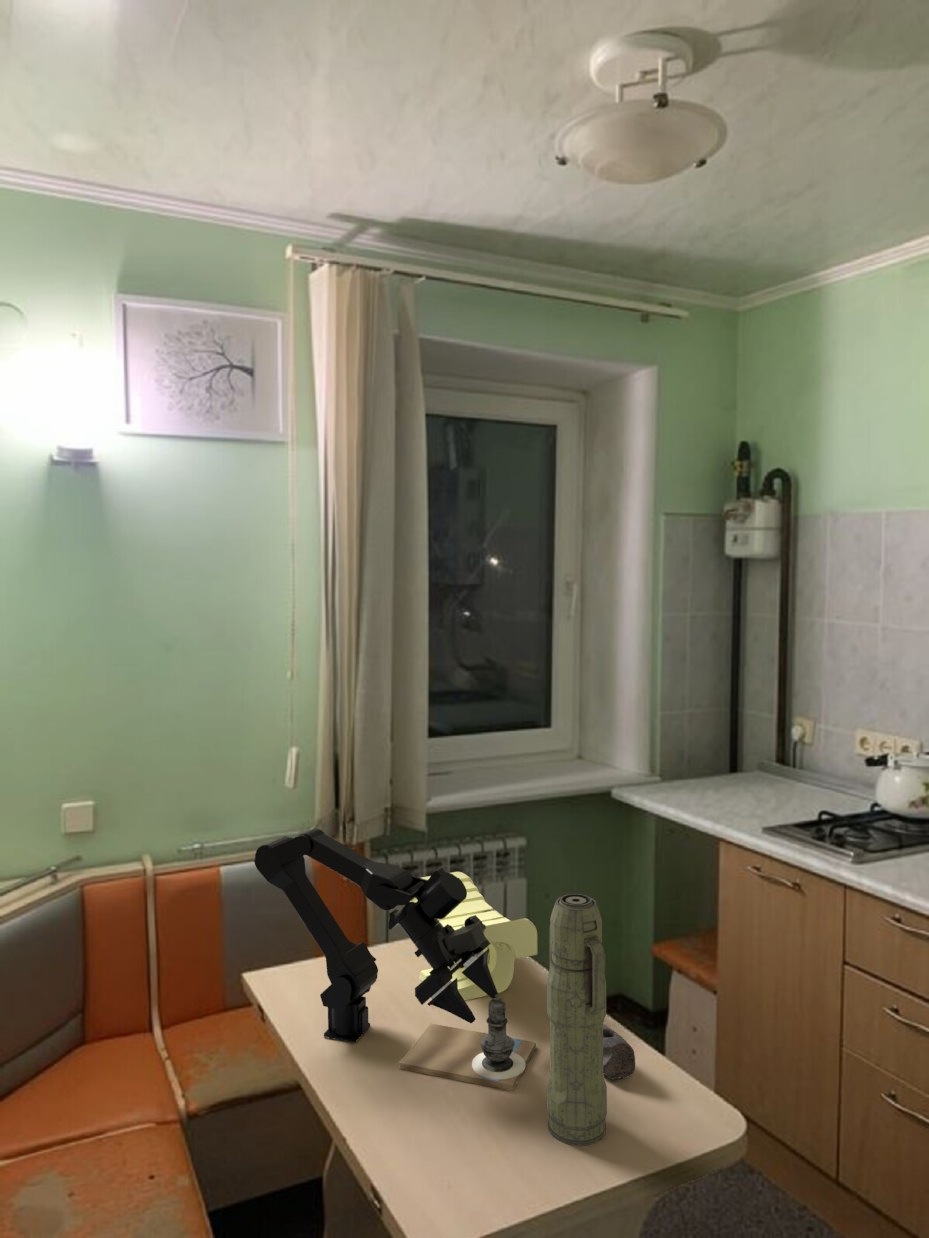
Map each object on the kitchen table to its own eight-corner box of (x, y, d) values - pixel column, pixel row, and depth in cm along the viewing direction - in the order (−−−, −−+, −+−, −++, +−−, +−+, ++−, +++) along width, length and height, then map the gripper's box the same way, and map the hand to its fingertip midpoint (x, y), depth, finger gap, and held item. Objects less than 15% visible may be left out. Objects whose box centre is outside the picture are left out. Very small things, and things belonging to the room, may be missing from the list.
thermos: (583, 1159, 129) (582, 918, 127) (529, 1119, 139) (527, 894, 137) (626, 1135, 134) (626, 904, 133) (571, 1098, 144) (570, 882, 142)
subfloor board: (399, 1068, 153) (399, 1062, 153) (430, 1028, 166) (430, 1022, 166) (515, 1091, 146) (515, 1084, 146) (538, 1047, 159) (538, 1041, 159)
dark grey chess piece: (498, 1077, 148) (498, 1005, 148) (472, 1063, 152) (471, 994, 152) (522, 1062, 153) (521, 993, 152) (496, 1050, 157) (495, 982, 156)
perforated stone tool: (564, 1047, 160) (564, 1008, 159) (589, 1040, 162) (589, 1002, 161) (611, 1091, 146) (611, 1049, 146) (638, 1083, 148) (638, 1042, 148)
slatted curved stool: (537, 1006, 174) (537, 915, 173) (462, 1024, 168) (461, 930, 167) (471, 948, 202) (470, 869, 201) (404, 961, 195) (403, 880, 194)
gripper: (430, 926, 146) (493, 1007, 142) (480, 889, 163) (537, 960, 158) (389, 964, 150) (448, 1044, 146) (441, 924, 167) (496, 995, 162)
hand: (485, 1008), depth 153 cm, fingers open, 9 cm apart
